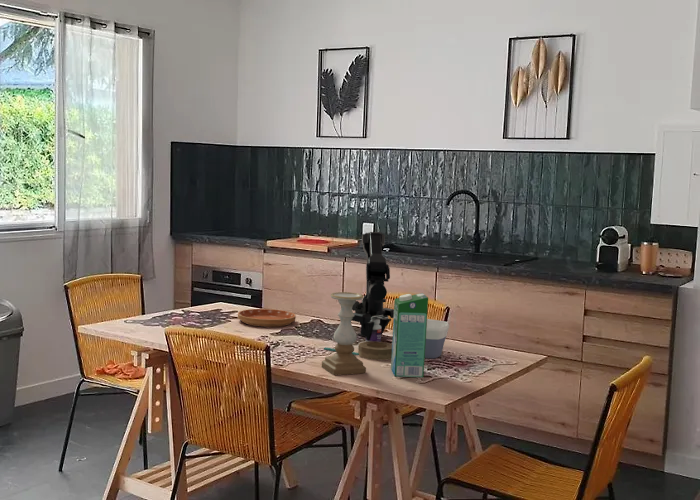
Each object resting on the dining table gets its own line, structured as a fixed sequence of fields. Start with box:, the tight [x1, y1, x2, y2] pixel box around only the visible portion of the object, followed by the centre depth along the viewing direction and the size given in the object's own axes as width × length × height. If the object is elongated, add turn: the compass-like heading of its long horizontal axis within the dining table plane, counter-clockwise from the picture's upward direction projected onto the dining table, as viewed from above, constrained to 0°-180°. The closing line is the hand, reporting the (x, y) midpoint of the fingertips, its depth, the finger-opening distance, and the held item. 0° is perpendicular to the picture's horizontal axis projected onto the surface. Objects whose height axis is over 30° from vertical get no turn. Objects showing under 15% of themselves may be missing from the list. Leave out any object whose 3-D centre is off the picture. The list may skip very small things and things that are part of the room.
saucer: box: [237, 308, 297, 328], centre depth 321 cm, size 23×23×4 cm
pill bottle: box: [365, 318, 382, 342], centre depth 288 cm, size 5×5×10 cm
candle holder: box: [321, 291, 367, 376], centre depth 252 cm, size 11×11×24 cm
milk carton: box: [390, 292, 429, 378], centre depth 252 cm, size 9×9×25 cm
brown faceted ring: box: [357, 341, 392, 361], centre depth 274 cm, size 12×12×4 cm
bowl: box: [425, 318, 450, 360], centre depth 279 cm, size 15×15×11 cm
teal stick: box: [323, 347, 359, 356], centre depth 276 cm, size 14×1×1 cm, turn 63°
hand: (373, 339), depth 288 cm, fingers closed on pill bottle, 5 cm apart
